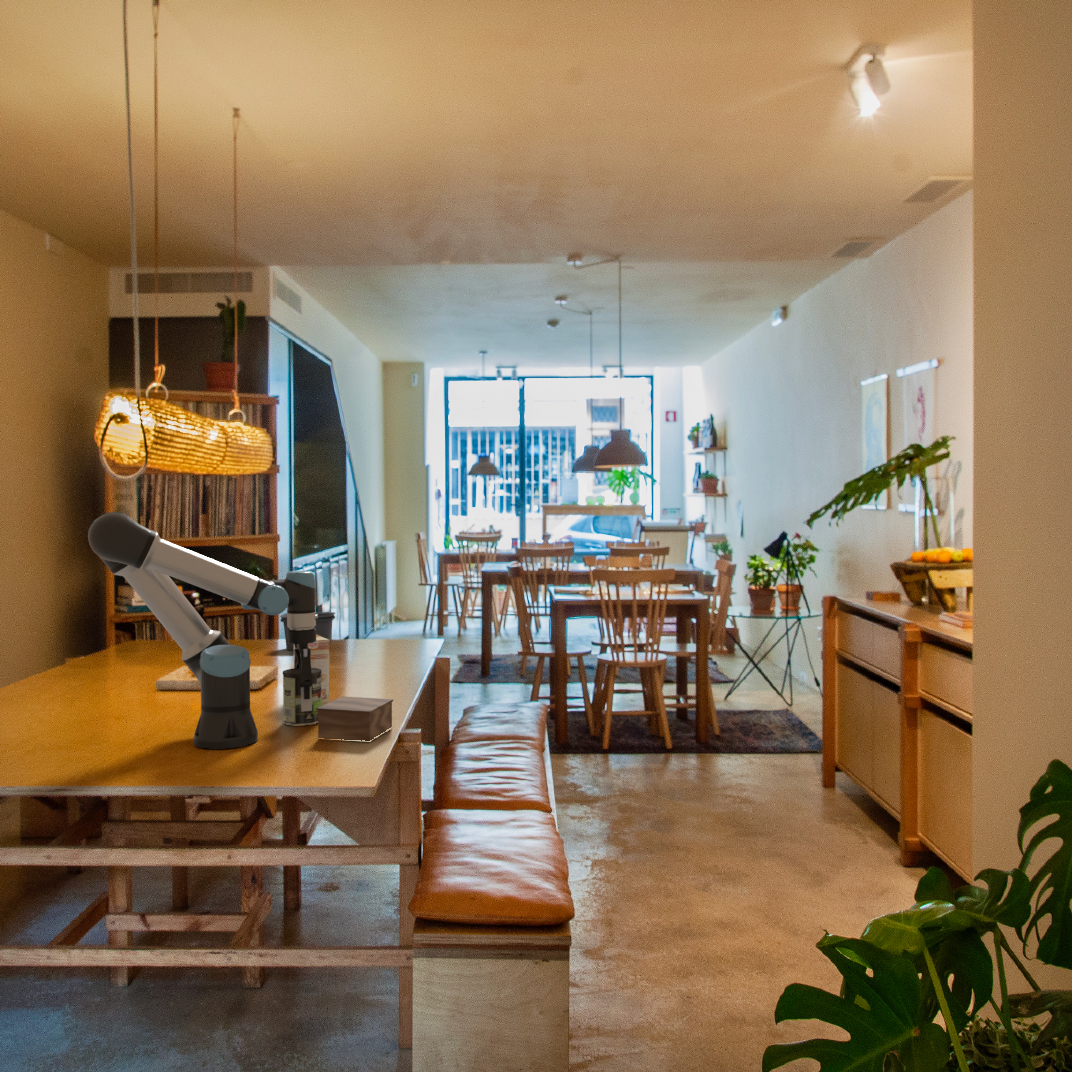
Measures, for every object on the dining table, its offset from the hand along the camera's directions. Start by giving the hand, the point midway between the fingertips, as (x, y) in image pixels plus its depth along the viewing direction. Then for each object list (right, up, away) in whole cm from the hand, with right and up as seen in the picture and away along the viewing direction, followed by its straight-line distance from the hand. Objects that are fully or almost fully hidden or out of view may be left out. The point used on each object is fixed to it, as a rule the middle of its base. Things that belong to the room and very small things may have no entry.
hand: (303, 705), depth 252 cm
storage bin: (-30, 0, +127) cm, 131 cm away
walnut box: (+17, -5, -14) cm, 22 cm away
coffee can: (0, -5, 0) cm, 5 cm away
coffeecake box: (-4, -4, +26) cm, 26 cm away
